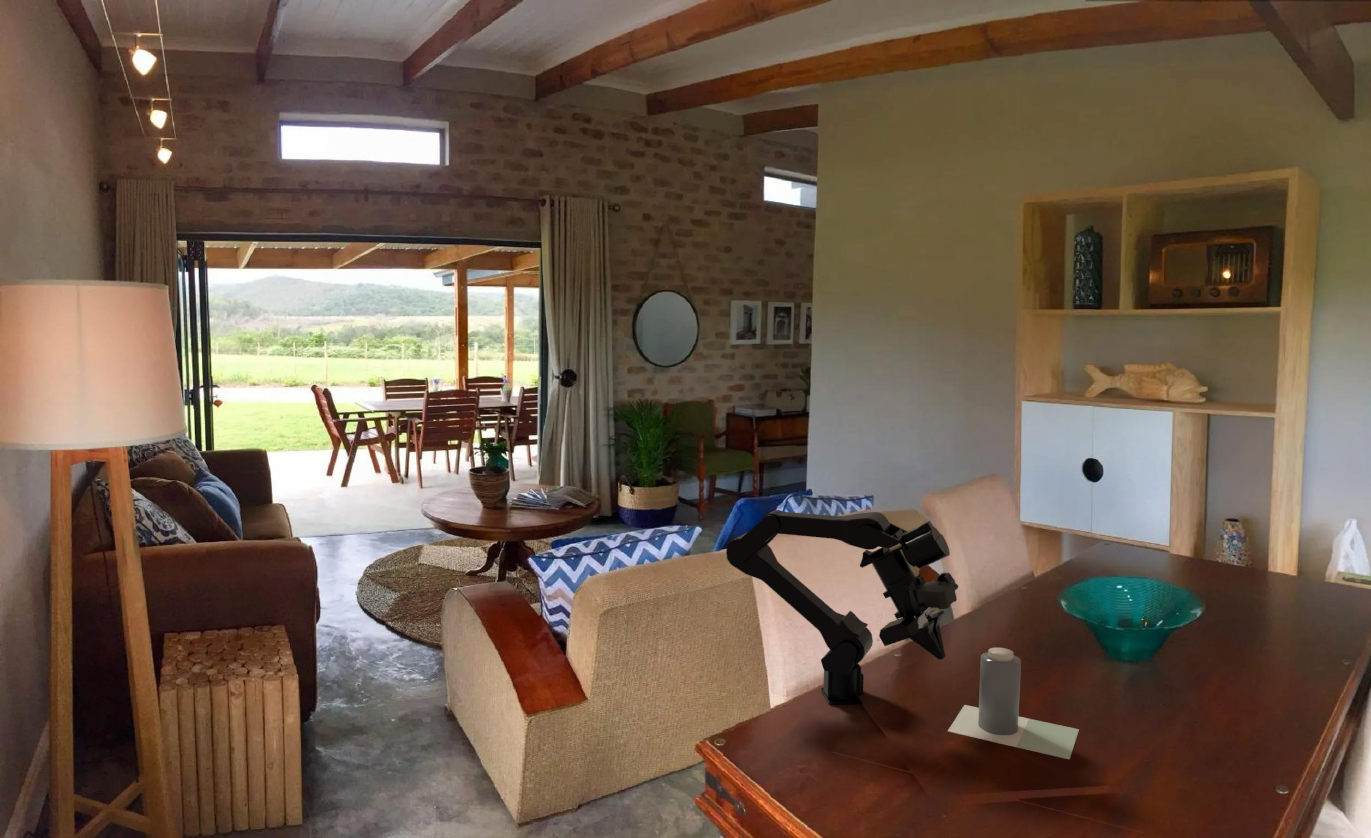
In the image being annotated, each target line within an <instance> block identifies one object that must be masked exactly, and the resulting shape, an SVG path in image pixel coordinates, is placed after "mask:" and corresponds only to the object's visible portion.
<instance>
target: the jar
mask: <svg viewBox="0 0 1371 838" xmlns="http://www.w3.org/2000/svg"><path fill="white" fill-rule="evenodd" d="M1014 653H1015V652H1014V651H1013V650H1011V649H1008V648H1005V647H991V648H989V649H988V651H986V652H984V653H982V654H980V669H979V670H980V671H979V673H980V674H979V692H978V693H979V696H978V697H979V698H978V699H979V700H978V708H979V717H978V725H979V727H980V728H981V729H982V730H984V731H986V732H989V733H992V734H996V735H1012V734H1015V733H1017V731H1018V719H1019V717H1020V716H1019V715H1020V713H1019V712H1020V710H1019V709H1020V695H1021V694H1020V693H1021V692H1020V691H1021V670H1022V668H1021V667H1022V666H1021V665H1022V659H1021V658H1020V657H1018V656H1017V655H1014Z"/></svg>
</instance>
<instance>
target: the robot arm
mask: <svg viewBox="0 0 1371 838" xmlns="http://www.w3.org/2000/svg"><path fill="white" fill-rule="evenodd" d="M778 535H790V536H801V537H802V536H803V537H810V538H811V537H812V538H820V539H832V540H833V539H834V540H837V541H840V542H842V543H845V544H846V545H849V546H851V547H854V548H855V547H856V548H859V549H864V551H863V552H862V559H861V561H860V564H859V567H860V568H865V567H867V566H869V565H871V564H872V567H873V569H874V570H875V572H876V574H877V575H878V578H879V579H880V581H881V583H882V585H883V588H884V589H885V591H884V592H883V593H882V595H883V596H884V599H888V598H890V600H891V601H892V603H893V605H894V607H895V608H896V610H897V611H896V612H894V616H895V619H894V620H892V621H889V622H888V623H887V624H885V625H884V626H883V627H882V628H881V629H880V630H879V636H878V637H879V639H880V640H881V642H882V645H883V646H884V647H886V646H890V645H893V644H896V643H899V642H902V641H905V640H908V639H909V640H911V641H913V642H914V643H916V644H917V645H919V646H920V647H921V648H923V649H924V650H926V651H927V652H928V653H930V654H931V655H932V656H933V657H934V658H936V659H937V660H940V661H941V660H943V659H944V658H945V657H946V652H945V647H944V643H943V638H942V631H941V627H940V623H941V620H942V618H943V616H944V615H945V611H944V610H946V609H948V608H951V605H952V604H953V603H955V602H957V600H958V599H957V593H956V590H957V589H959V585H958V583H956V581H955V579H954V578H953V576H952V575H951V573H950V572H941V573H940V574H939V575H937V578H936V579H933V580H932V581H926V580H925V578H924V577H923V575H921V574H917V575H915V573H914V572H913V569H912V567H913V568H914V567H916V568H918V569H923V568H925V567H927V566H929V565H932V564H934V563H936V562H939V561H941V560H942V559H945V558H946V557H949V556H950V553H951V552H950V547H949V545H948V543H947V541H946V538H945V536H944V534H942V533H940V531H939V529H937V528H936V527H935V526H934V525H933V523H932V522H931V521H930V520H927V521H926V522H924V523H922V524H920V526H918V527H915V528H913V529H911V530H909V531H907V529H904V528H902V527H901V526H900V527H899V526H897V525H896V524H894V523H892V522H890V521H889V519H888V518H887V517H886V515H884V514H883V513H881V512H878V511H870V512H859V513H854V514H853V513H852V514H848V515H828V514H827V515H826V514H817V513H816V514H815V513H804V512H803V513H802V512H794V511H793V512H792V511H783V510H781V509H775V510H773V511H771V512H769V513H767V514H765V515H764V516H763V517H762V519H761V520H760V521H759V522H758V523H757V524H756V525H755V526H754V527H752V528H751V529H750V530H748V531H747V532H746V533H744V534H743V533H742V535H739V536H738V537H736V538H734V539H733V540H731V541H730V542H729V543H728V544H727V546H726V550H725V551H726V552H725V553H726V560H727V562H728V563H729V564H730V565H731V566H732V567H734V568H735V569H737V570H739V571H740V572H741V573H743V574H744V575H747V576H750V577H752V578H756V579H757V580H761V581H762V582H763V583H765V585H767V587H769V588H770V589H772V591H773V592H775V594H776V595H778V596H779V597H780V598H781V599H783V600H784V601H785V602H786V603H787V604H788V605H789V606H790V607H791V608H793V609H794V610H795V611H796V612H798V614H799V615H801V616H802V617H803V618H804V619H805V620H807V622H808V623H810V624H811V625H812V626H813V627H814V628H815V629H816V630H818V632H819V633H820V634H821V637H822V638H823V641H824V643H825V645H826V647H827V648H828V649H829V650H828V651H827V652H826V653H825V655H824V656H823V657H821V659H820V663H821V665H822V668H823V687H821V688H820V692H821V693H822V695H823V697H824V698H825V699H826V701H827V703H828V704H829V705H846V704H848V705H849V704H862V703H863V702H862V700H861V699H860V698H859V696H862V695H864V680H865V677H864V674H863V672H862V666H861V665H860V664H859V663H860V662H862V661H863V659H864V658H865V657H866V655H867V654H868V652H869V651H870V650H871V649H872V647H873V643H874V640H873V634H872V632H871V630H870V629H869V628H868V625H869V624H868V623H866V622H864V621H862V620H861V619H860V618H859V617H858V616H857V615H856V614H855V613H854V612H853V611H852V610H849V611H848V612H847V613H846V615H845V614H841V613H839V612H837V611H836V610H834V609H833V608H831V607H830V606H829V605H828V604H827V603H826V602H825V601H823V599H822V598H820V597H819V596H818V595H816V594H815V593H814V592H813V591H812V590H811V589H810V588H808V587H807V586H806V585H805V584H804V583H803V582H802V581H800V579H798V578H797V577H795V575H793V574H792V573H791V572H790V571H789V570H788V569H787V568H786V567H785V566H783V565H782V564H781V563H780V562H779V561H778V560H777V557H776V555H775V553H774V552H773V549H772V548H771V546H770V545H769V544H770V543H771V541H773V540H774V539H775V538H776V537H777V536H778ZM878 547H879V548H878ZM877 548H878V549H877ZM874 549H876V550H874ZM871 550H874V551H871ZM937 609H939V610H941V611H939V612H938V610H937Z"/></svg>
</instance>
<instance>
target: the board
mask: <svg viewBox="0 0 1371 838" xmlns="http://www.w3.org/2000/svg"><path fill="white" fill-rule="evenodd" d="M978 717H979V707H977V706H971V705H967V704H964V705H963V706H962V708H961V710H960V711H959V712H958V714H957V716H956V717H955V719H954V721H953V722H952V724H951V725H950V727H949V728H948V730H947V732H949V733H953V734H956V735H957V734H958V735H960V736H961V735H962V736H966V737H971V738H973V739H980V740H984V741H986V742H987V741H988V742H992V743H997V744H1001V745H1006V746H1009V747H1014V748H1018V749H1023V750H1027V751H1032V752H1036V753H1040V754H1043V755H1048V756H1053V757H1056V758H1061V759H1065V760H1066V759H1067V760H1070V759H1071V756H1072V753H1073V750H1074V748H1075V747H1074V746H1075V743H1076V741H1077V737H1078V734H1079V731H1080V729H1078V728H1075V727H1074V728H1073V727H1069V726H1065V725H1060V724H1056V723H1051V722H1045V721H1041V720H1039V719H1038V720H1036V719H1033V718H1027V717H1023V716H1019V719H1018V731H1017V733H1015V734H1012V735H996V734H992V733H989V732H986V731H984V730H982V729H981V728H980V727H979V725H978Z"/></svg>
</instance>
